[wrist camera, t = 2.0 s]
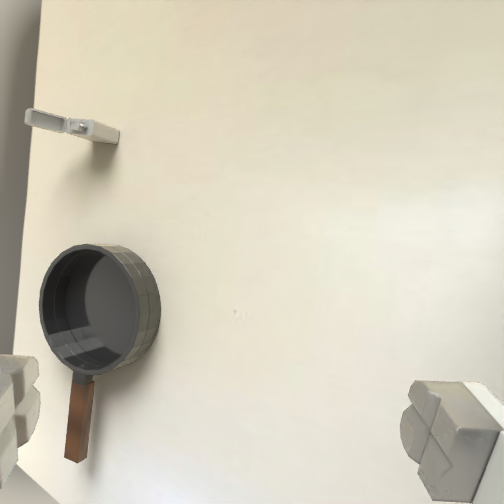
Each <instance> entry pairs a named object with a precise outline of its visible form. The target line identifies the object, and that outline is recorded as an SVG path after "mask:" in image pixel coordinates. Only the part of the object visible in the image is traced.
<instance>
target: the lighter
mask: <svg viewBox="0 0 504 504" xmlns="http://www.w3.org/2000/svg"><path fill="white" fill-rule="evenodd" d="M25 124H26V125H30V126H34V127H38V128H42V129H46V130H50V131H54V132H58V133H64V132H66V133H68V134H71V135H74V136H78V137H81V138H84V139H87V140H90V141H93V142H103V143H112V144H117V143H118V140H119V133H120V131H119V130H118V129H115V128H112V127H110V126H107V125H105V124H102V123H99V122H97V121H94V120H85V119H72V118H68V119H67V118H65V117H62V116H58V115H54V114H51V113H47V112H43V111H39V110H36V109H32V108H30V109H27V110H26V114H25Z"/></svg>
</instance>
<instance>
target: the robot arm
mask: <svg viewBox="0 0 504 504" xmlns="http://www.w3.org/2000/svg"><path fill="white" fill-rule="evenodd" d="M38 376H39V367H38V361H37V359H36V358H35V357H30V356H18V355H5V354H0V489H2V487H3V485H4V483H5V482H6V480H7V478H8V476H9V474H10V473H11V471H12V469H13V467H14V466H15V464H16V462H17V461H18V450H17V448H19V447H20V446H22V445H24V444H25V443H27V442H28V441H29V439H30V437H31V436H32V434H33V432H34V430H35V427H36V424H37V420H38V417H39V411H40V393H39V391H38V390H37V389H36V388H35V387H34V386H33V384H34V382H35V381H36V379H37V378H38ZM408 397H409V399H410V401H411V403H412V404H411V405H410V406H409V407H408V408H407V409H406V410H405V411H404V412H403V415H402V419H401V423H400V433H401V440H402V443H403V447H404V449H405V451H406V453H407V455H408V456H409V457H410V458H411V459H413V460H414V461H415V462H417V463H418V464H419V465H420V466H419V470H418V475H419V477H420V479H421V480H422V482H423V484H424V486H425V488H426V490H427V491H428V493H429V495H430V497H431V499H432V501H448V502H465V503H472V504H504V404H503V403H502V402H501V401H500V400H499V399H498V398H497V397H496V396H495V395H494V394H493V393H492V392H491V391H490V390H489V389H488V388H487V387H486V386H485V385H483V384H481V383H479V382H439V381H416V380H415V381H414V383H413V384H412V385H411V387H410V391H409V394H408Z"/></svg>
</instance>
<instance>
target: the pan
mask: <svg viewBox="0 0 504 504" xmlns="http://www.w3.org/2000/svg"><path fill="white" fill-rule="evenodd" d="M160 312H161V306H160V296H159V291H158V287H157V284H156V281H155V279H154V277H153V275H152V273H151V271H150V269H149V268H148V266H147V265H146V264H145V262H144V261H143V260H142V259H141V258H140V257H139V256H138V255H136V254H135V253H134V252H132V251H130V250H129V249H127V248H124V247H122V246H118V245H110V244H82V245H76V246H73V247H71V248H69V249H67V250H65V251H63V252H62V253H61V254H60V255H59V256H58V257H57V258H56V259H55V260H54V261H53V262H52V263H51V265H50V267H49V269H48V270H47V272H46V274H45V276H44V279H43V283H42V286H41V290H40V299H39V313H40V321H41V326H42V329H43V333H44V336H45V338H46V340H47V342H48V344H49V346H50V348H51V350H52V352H53V353H54V354H55V355H56V356H57V358H58V359H59V360H60V361H61V362H62V363H63V364H65V365H66V366H67V367H69V368H70V369H72V370H73V371H74V370H75V371H78V372H80V373H83V374H85V375H101V374H103V373H106V372H109V371H112V370H114V369H117V368H119V367H122V366H125V365H127V364H130V363H132V362H134V361H135V360H137V359H138V358H140V357H141V356H142V355H143V354H144V353H145V352H146V351H147V349H148V348H149V347H150V345H151V344H152V342H153V340H154V338H155V336H156V333H157V330H158V327H159V321H160Z"/></svg>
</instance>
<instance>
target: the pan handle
mask: <svg viewBox="0 0 504 504" xmlns="http://www.w3.org/2000/svg"><path fill="white" fill-rule="evenodd" d="M92 378H93V375H85V374H83V373H80V372H78V371H75V370H74V371H73V379H72V386H71V396H70V405H69V415H68V425H67V434H66V444H65V454H64V458H67V459H69V460H71V461H73V462H75V463H79V462H81V461H82V460H84V459H85V458H87V450H88V441H89V431H90V422H91V413H92V403H93V394H94V385H95V382H94V381H92Z"/></svg>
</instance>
